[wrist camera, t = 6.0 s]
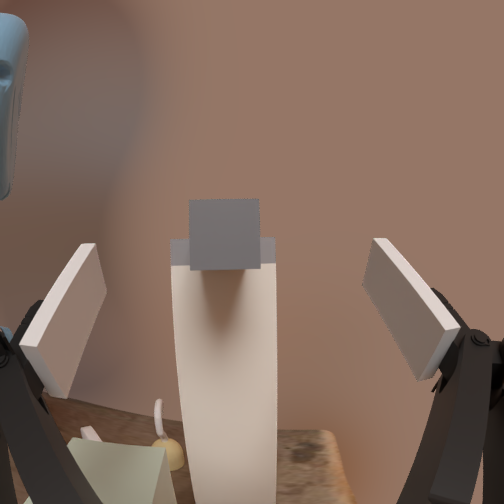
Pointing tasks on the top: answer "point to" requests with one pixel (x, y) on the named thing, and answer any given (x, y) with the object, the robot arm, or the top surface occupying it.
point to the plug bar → (224, 234)
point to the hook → (167, 440)
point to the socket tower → (227, 376)
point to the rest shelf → (124, 472)
